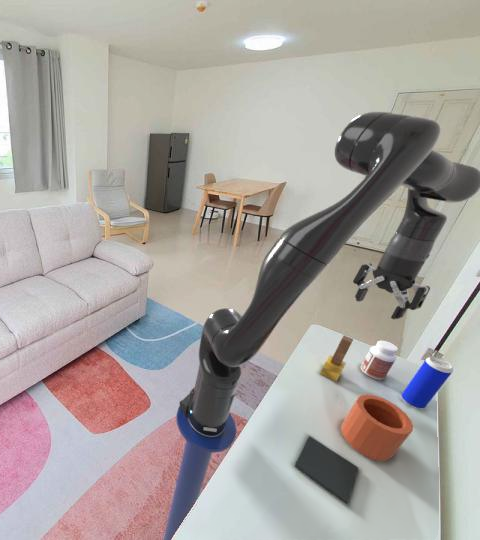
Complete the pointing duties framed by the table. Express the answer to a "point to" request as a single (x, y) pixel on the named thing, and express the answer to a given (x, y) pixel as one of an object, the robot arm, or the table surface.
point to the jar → (376, 427)
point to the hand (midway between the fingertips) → (376, 309)
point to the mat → (327, 468)
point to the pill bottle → (379, 360)
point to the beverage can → (427, 382)
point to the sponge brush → (336, 360)
